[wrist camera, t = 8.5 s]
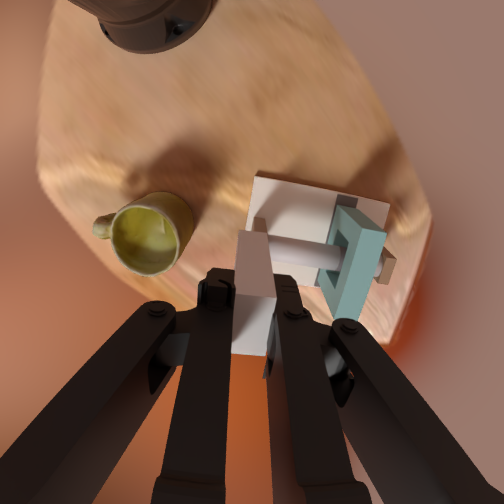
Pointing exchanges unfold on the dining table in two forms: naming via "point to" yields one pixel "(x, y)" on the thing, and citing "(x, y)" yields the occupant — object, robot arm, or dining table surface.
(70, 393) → the robot arm
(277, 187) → the pipe rail
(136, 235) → the mug
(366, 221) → the collar
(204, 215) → the dining table surface
